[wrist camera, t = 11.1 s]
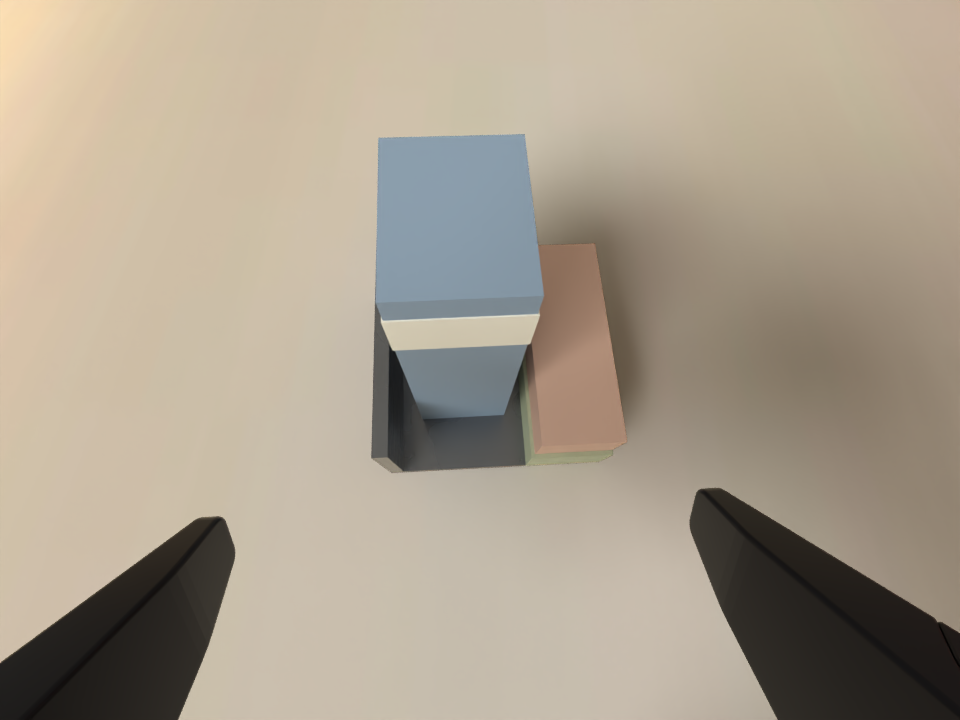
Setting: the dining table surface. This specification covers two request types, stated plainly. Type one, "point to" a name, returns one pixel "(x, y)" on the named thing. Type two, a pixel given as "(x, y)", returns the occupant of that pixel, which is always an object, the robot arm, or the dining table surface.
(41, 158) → the dining table surface
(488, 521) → the dining table surface
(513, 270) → the blue-grey rectangular block
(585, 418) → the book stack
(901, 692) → the robot arm
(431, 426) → the steel bookend
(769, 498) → the dining table surface
